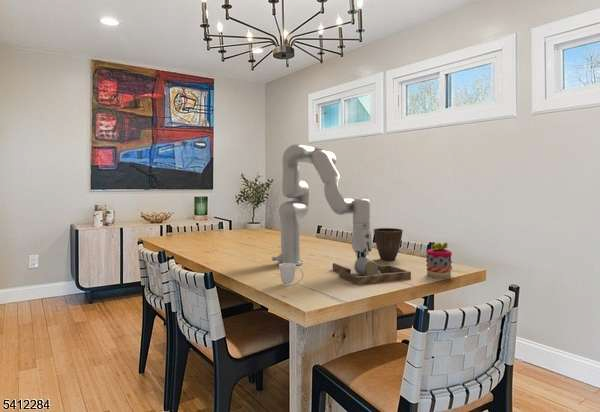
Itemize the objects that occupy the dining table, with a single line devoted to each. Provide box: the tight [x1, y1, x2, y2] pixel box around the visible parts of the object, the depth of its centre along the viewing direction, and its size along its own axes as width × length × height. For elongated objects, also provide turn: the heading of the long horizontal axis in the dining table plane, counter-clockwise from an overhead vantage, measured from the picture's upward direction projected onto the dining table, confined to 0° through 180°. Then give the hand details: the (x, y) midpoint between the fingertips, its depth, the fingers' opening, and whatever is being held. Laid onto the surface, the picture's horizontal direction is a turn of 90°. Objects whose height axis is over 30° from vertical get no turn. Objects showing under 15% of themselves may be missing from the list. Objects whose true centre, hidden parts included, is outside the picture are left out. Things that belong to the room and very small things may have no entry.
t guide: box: [332, 262, 412, 286], centre depth 174 cm, size 26×29×3 cm
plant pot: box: [373, 227, 403, 262], centre depth 208 cm, size 15×15×16 cm
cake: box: [425, 242, 453, 279], centre depth 171 cm, size 10×11×15 cm
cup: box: [278, 263, 304, 287], centre depth 157 cm, size 7×10×8 cm
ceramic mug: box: [354, 257, 382, 276], centre depth 172 cm, size 11×8×8 cm
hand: (361, 266), depth 178 cm, fingers closed
